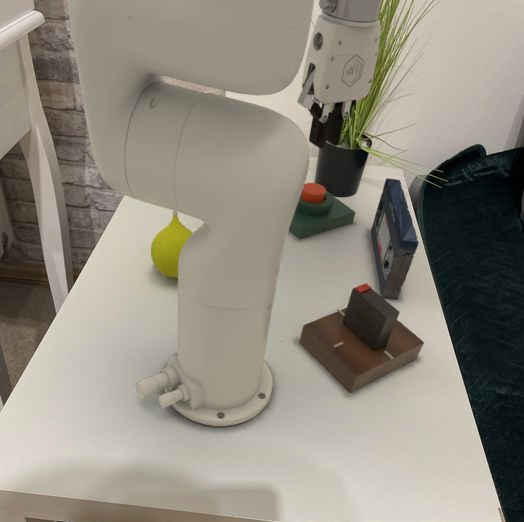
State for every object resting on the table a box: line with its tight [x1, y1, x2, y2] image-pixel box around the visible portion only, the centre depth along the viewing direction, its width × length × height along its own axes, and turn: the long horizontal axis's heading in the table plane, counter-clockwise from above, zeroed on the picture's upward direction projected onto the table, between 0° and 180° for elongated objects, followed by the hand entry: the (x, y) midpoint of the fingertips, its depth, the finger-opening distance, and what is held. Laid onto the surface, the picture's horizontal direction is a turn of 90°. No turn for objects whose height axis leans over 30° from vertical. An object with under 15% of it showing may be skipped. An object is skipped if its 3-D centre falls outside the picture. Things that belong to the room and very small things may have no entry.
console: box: [299, 307, 425, 394], centre depth 67 cm, size 12×10×3 cm
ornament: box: [150, 210, 194, 279], centre depth 72 cm, size 7×7×10 cm
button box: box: [288, 190, 356, 240], centre depth 89 cm, size 12×10×4 cm
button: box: [301, 182, 327, 203], centre depth 88 cm, size 4×4×2 cm
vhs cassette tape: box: [370, 178, 419, 300], centre depth 80 cm, size 18×3×10 cm, turn 175°
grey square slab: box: [343, 282, 401, 351], centre depth 64 cm, size 6×2×6 cm, turn 35°
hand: (323, 142), depth 82 cm, fingers closed
